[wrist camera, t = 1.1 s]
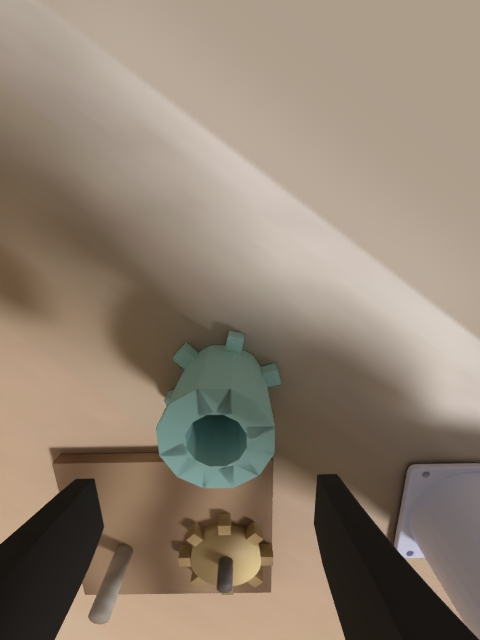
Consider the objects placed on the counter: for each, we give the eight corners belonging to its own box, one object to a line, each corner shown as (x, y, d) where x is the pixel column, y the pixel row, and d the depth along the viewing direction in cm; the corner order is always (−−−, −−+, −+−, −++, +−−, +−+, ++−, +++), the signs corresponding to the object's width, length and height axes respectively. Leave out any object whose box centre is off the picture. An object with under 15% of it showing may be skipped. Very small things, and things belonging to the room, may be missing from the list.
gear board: (271, 450, 17) (281, 514, 13) (269, 579, 20) (277, 664, 16) (60, 454, 17) (4, 518, 13) (91, 581, 20) (52, 666, 16)
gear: (280, 329, 15) (299, 366, 10) (278, 430, 17) (293, 502, 12) (162, 331, 15) (126, 369, 10) (172, 431, 17) (145, 504, 12)
